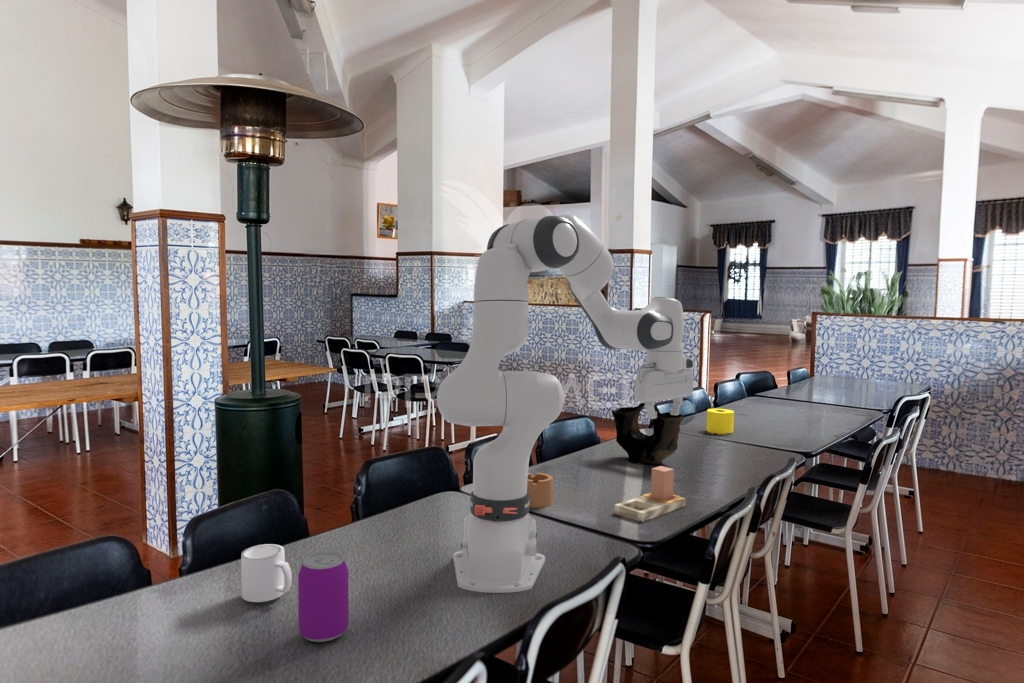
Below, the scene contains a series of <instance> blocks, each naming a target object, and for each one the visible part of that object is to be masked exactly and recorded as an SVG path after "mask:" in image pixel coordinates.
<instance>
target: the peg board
mask: <svg viewBox="0 0 1024 683" xmlns="http://www.w3.org/2000/svg"><path fill="white" fill-rule="evenodd" d="M685 506H686V498H685V497H682V496H680V495H678V494H677V495H676V494H674V493H673V499H672V500H669V501H666V502H665V501H661V500H658V499H654V498H651V491H650V492H648V493H644V494H642V495H641V496H638V497H634V498H632V499H629V500H625V501H622V502H619V503H618V502H617V503H615V504H614V510H613V511H614V515H617V516H621V517H624V518H628V519H630V520H635V521H638V522H640V521H641V523H644V522H646V520H647V521H650V520H652V519H654V518H658V517H659V516H663V515H665V514H668V513H671V512H673V511H675V510H678V509H681V508H684V507H685ZM649 519H650V520H649Z"/></svg>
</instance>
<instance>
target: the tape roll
mask: <svg viewBox="0 0 1024 683" xmlns="http://www.w3.org/2000/svg"><path fill="white" fill-rule="evenodd" d="M734 420H735V411H734V410H732V409H726V408H708V409H707V410H706V432H707V431H708V432H707V433H709V432H710V433H709V434H714V433H717V434H716V435H726V434H725V433H732V432H733V433H734V423H735V422H734ZM733 433H732V434H733Z"/></svg>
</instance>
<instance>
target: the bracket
mask: <svg viewBox="0 0 1024 683" xmlns="http://www.w3.org/2000/svg"><path fill="white" fill-rule="evenodd" d="M553 479H554V477H553V475H550V474H549V473H544V472H543V473H542V472H535V475H532V473H530V472H528V479H527V491H528V493H529V499H530V504H529V508H534V509H536V508H547V507H549V506H551V505H552V504H553V491H554V490H553V486H554V485H553V484H554V480H553Z"/></svg>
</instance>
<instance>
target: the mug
mask: <svg viewBox="0 0 1024 683" xmlns="http://www.w3.org/2000/svg"><path fill="white" fill-rule="evenodd" d="M285 552H286V551H285V547H283V546H282V545H280V544H275V543H264V544H257V545H253V546H250V547H248V548H245V549H244V550H242V551H241V556H240V558H241V559H240V561H241V564H240V566H241V568H240V569H241V570H240V572H241V598H242V599H243V600H244V601H247V602H249V603H250V602H251V603H264V602H270V601H273V600H276V599H277V598H280V597H282V595H284V594H285V593H287V592H289V591H290V590H291V586H292V584H293V583H292V582H293V577H292V576H293V575H292V569H291V567H290V564H289V562H287V561H286V560H285Z"/></svg>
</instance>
